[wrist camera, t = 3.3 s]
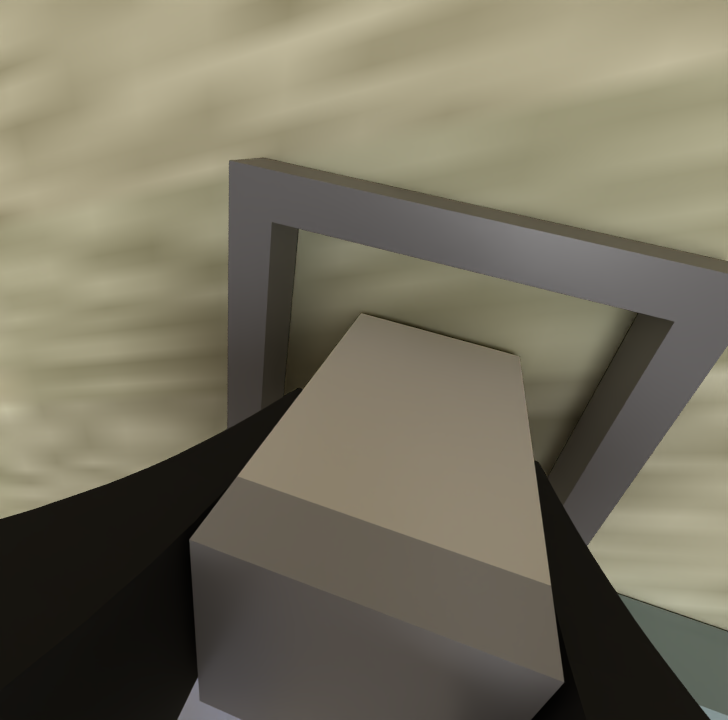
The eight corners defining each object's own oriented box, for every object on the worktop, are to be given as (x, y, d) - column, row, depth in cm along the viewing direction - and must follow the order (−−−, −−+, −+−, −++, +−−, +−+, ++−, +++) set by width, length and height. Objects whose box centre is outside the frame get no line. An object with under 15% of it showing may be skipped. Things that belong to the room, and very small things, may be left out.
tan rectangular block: (338, 433, 12) (199, 701, 6) (361, 313, 10) (189, 540, 5) (470, 475, 12) (449, 812, 6) (519, 356, 10) (564, 682, 4)
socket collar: (249, 467, 15) (226, 498, 13) (263, 157, 10) (229, 160, 8) (536, 565, 13) (541, 611, 12) (727, 261, 8) (771, 283, 7)
